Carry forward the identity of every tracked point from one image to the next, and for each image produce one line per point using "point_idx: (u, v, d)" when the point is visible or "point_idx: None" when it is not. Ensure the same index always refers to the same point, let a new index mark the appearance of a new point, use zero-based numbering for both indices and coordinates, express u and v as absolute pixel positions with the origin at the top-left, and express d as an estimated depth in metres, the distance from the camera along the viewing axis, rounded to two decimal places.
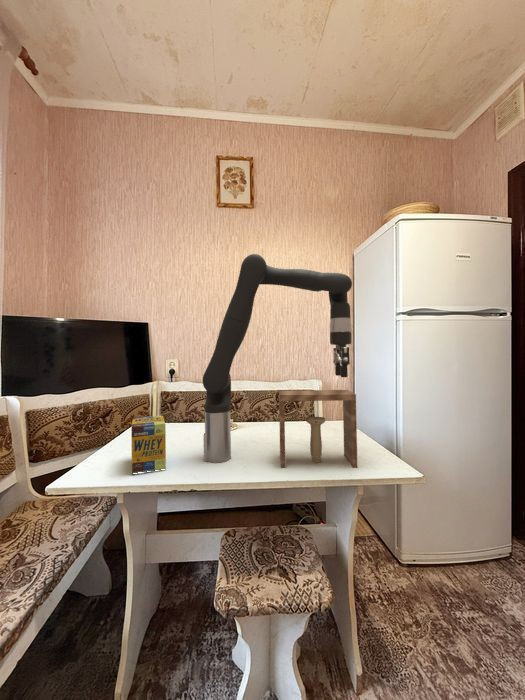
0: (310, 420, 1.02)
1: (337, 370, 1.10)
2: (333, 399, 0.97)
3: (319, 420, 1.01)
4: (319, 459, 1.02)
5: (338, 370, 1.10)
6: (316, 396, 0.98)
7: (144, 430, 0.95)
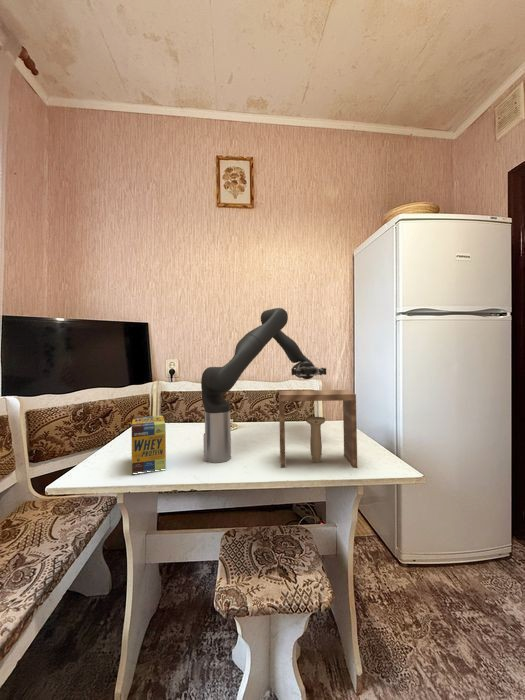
0: (310, 420, 1.02)
1: None
2: (333, 399, 0.97)
3: (319, 420, 1.01)
4: (319, 459, 1.02)
5: None
6: (316, 396, 0.98)
7: (144, 430, 0.95)
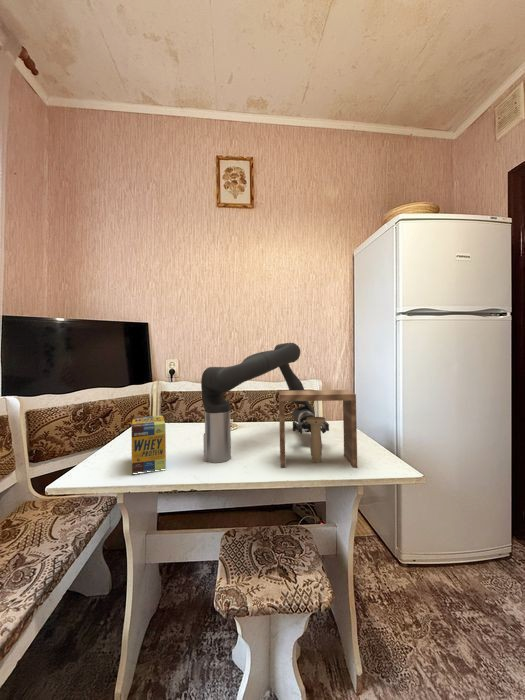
0: (310, 420, 1.02)
1: (301, 428, 1.14)
2: (333, 399, 0.97)
3: (319, 420, 1.01)
4: (319, 459, 1.02)
5: None
6: (316, 396, 0.98)
7: (144, 430, 0.95)
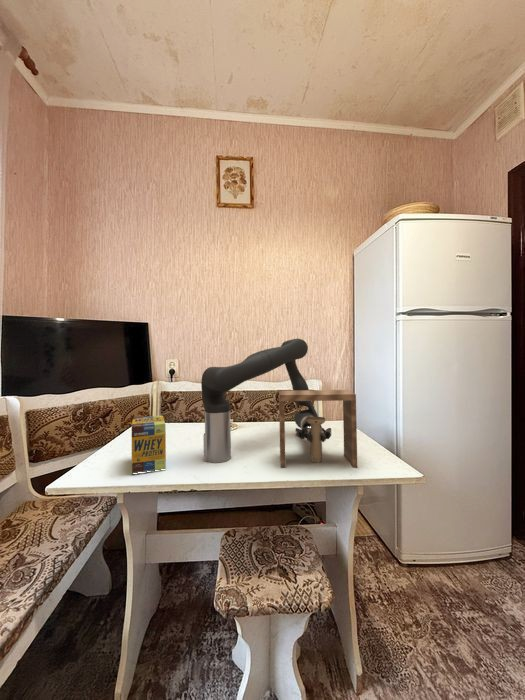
0: (310, 420, 1.02)
1: None
2: (333, 399, 0.97)
3: (319, 420, 1.01)
4: (319, 459, 1.02)
5: None
6: (316, 396, 0.98)
7: (144, 430, 0.95)
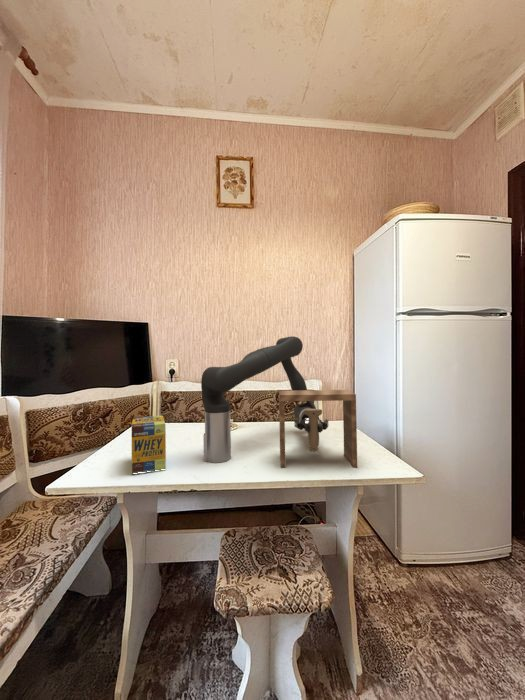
0: (308, 412, 1.08)
1: None
2: (333, 399, 0.97)
3: (316, 412, 1.07)
4: (316, 448, 1.08)
5: None
6: (316, 396, 0.98)
7: (144, 430, 0.95)
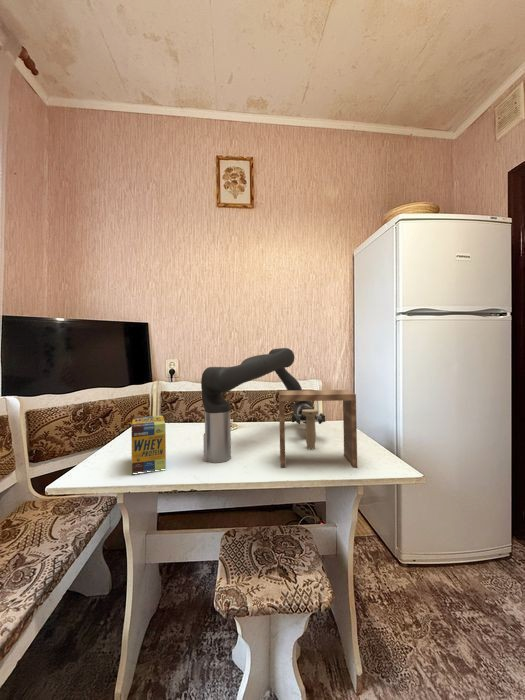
0: (305, 412, 1.16)
1: (299, 419, 1.24)
2: (333, 399, 0.97)
3: (313, 412, 1.15)
4: (313, 446, 1.16)
5: None
6: (316, 396, 0.98)
7: (144, 430, 0.95)
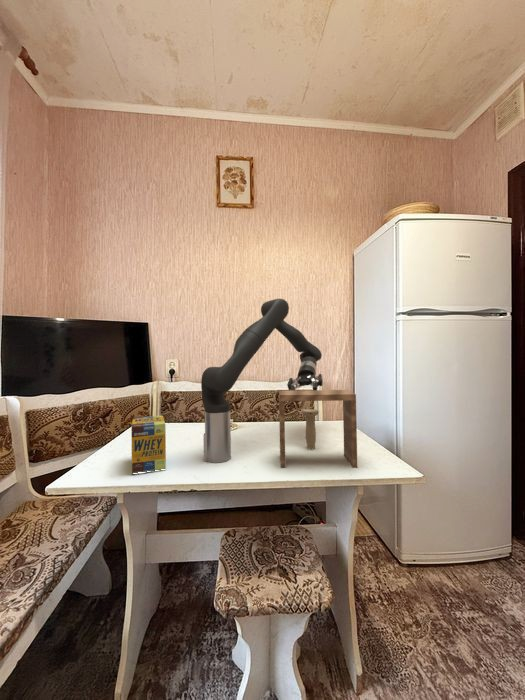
0: (305, 412, 1.16)
1: (294, 389, 1.19)
2: (333, 399, 0.97)
3: (313, 412, 1.15)
4: (313, 446, 1.16)
5: None
6: (316, 396, 0.98)
7: (144, 430, 0.95)
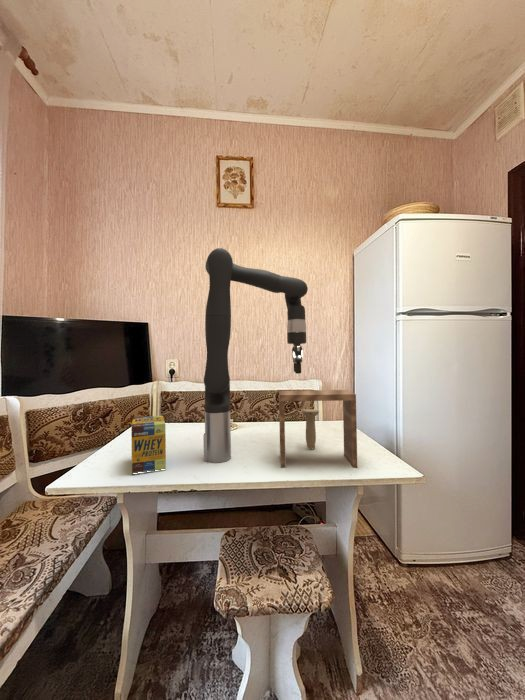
0: (305, 412, 1.16)
1: (295, 367, 1.21)
2: (333, 399, 0.97)
3: (313, 412, 1.15)
4: (313, 446, 1.16)
5: None
6: (316, 396, 0.98)
7: (144, 430, 0.95)
